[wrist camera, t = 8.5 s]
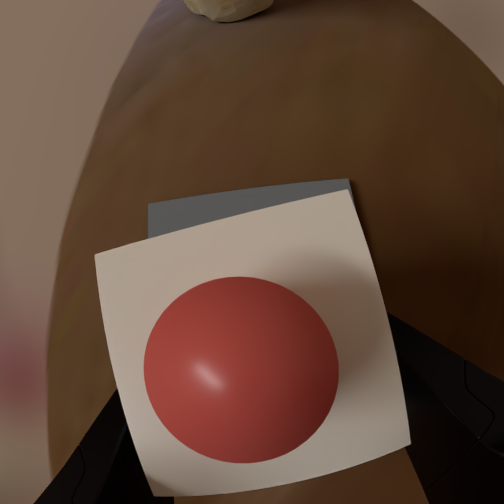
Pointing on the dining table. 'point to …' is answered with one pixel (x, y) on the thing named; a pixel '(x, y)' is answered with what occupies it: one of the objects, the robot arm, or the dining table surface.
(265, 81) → the dining table surface
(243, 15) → the food model
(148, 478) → the big red button box
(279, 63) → the dining table surface
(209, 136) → the dining table surface
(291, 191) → the placemat
